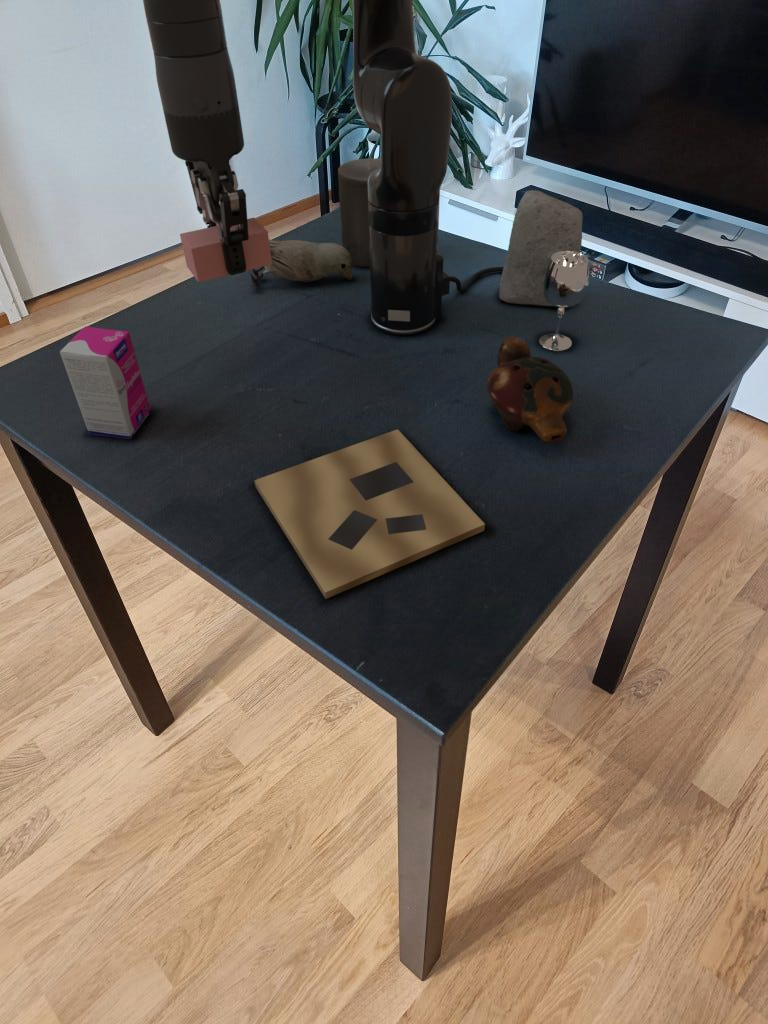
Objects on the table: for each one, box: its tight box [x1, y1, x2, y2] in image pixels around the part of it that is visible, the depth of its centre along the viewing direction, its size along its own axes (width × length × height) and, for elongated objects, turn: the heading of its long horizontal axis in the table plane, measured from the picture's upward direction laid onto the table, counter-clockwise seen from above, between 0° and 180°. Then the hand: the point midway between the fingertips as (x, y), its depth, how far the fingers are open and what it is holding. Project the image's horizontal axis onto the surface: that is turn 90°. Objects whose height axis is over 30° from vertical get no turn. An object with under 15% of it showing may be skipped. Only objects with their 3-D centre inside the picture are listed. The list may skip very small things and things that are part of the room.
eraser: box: [179, 217, 272, 283], centre depth 82 cm, size 9×4×4 cm, turn 118°
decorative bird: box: [247, 239, 353, 290], centre depth 109 cm, size 5×16×8 cm, turn 94°
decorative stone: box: [498, 189, 584, 308], centre depth 101 cm, size 11×6×15 cm, turn 71°
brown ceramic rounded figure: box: [487, 336, 574, 444], centre depth 83 cm, size 10×15×8 cm, turn 21°
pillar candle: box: [337, 157, 381, 268], centre depth 113 cm, size 10×10×15 cm
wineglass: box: [538, 251, 590, 352], centre depth 94 cm, size 6×6×12 cm
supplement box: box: [59, 326, 152, 440], centre depth 83 cm, size 6×6×12 cm
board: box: [253, 428, 486, 600], centre depth 75 cm, size 18×18×1 cm
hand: (229, 263), depth 83 cm, fingers closed on eraser, 4 cm apart
